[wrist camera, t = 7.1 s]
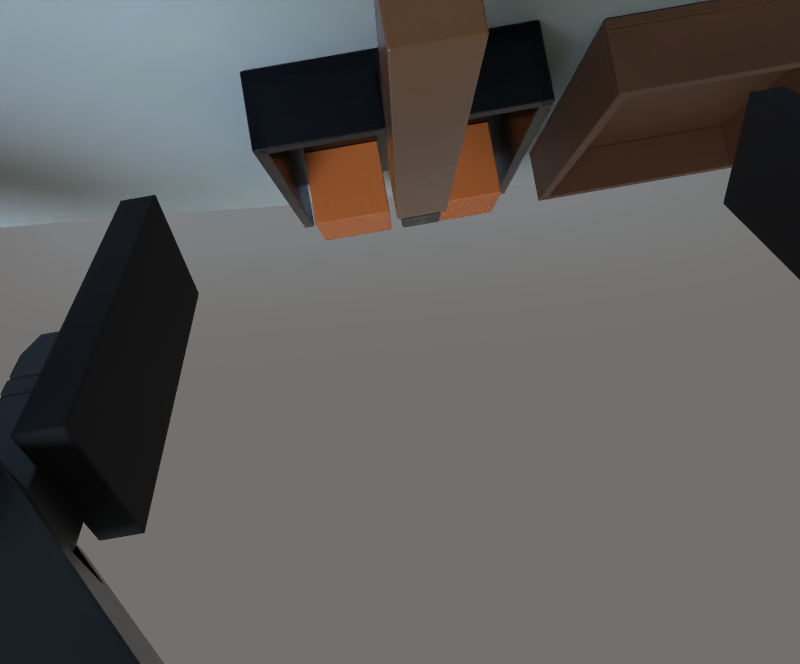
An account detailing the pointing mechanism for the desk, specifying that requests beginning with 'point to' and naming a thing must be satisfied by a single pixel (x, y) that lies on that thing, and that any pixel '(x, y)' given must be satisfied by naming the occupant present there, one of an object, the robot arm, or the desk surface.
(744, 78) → the tray
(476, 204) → the block
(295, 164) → the pan
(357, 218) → the block
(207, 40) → the desk surface
